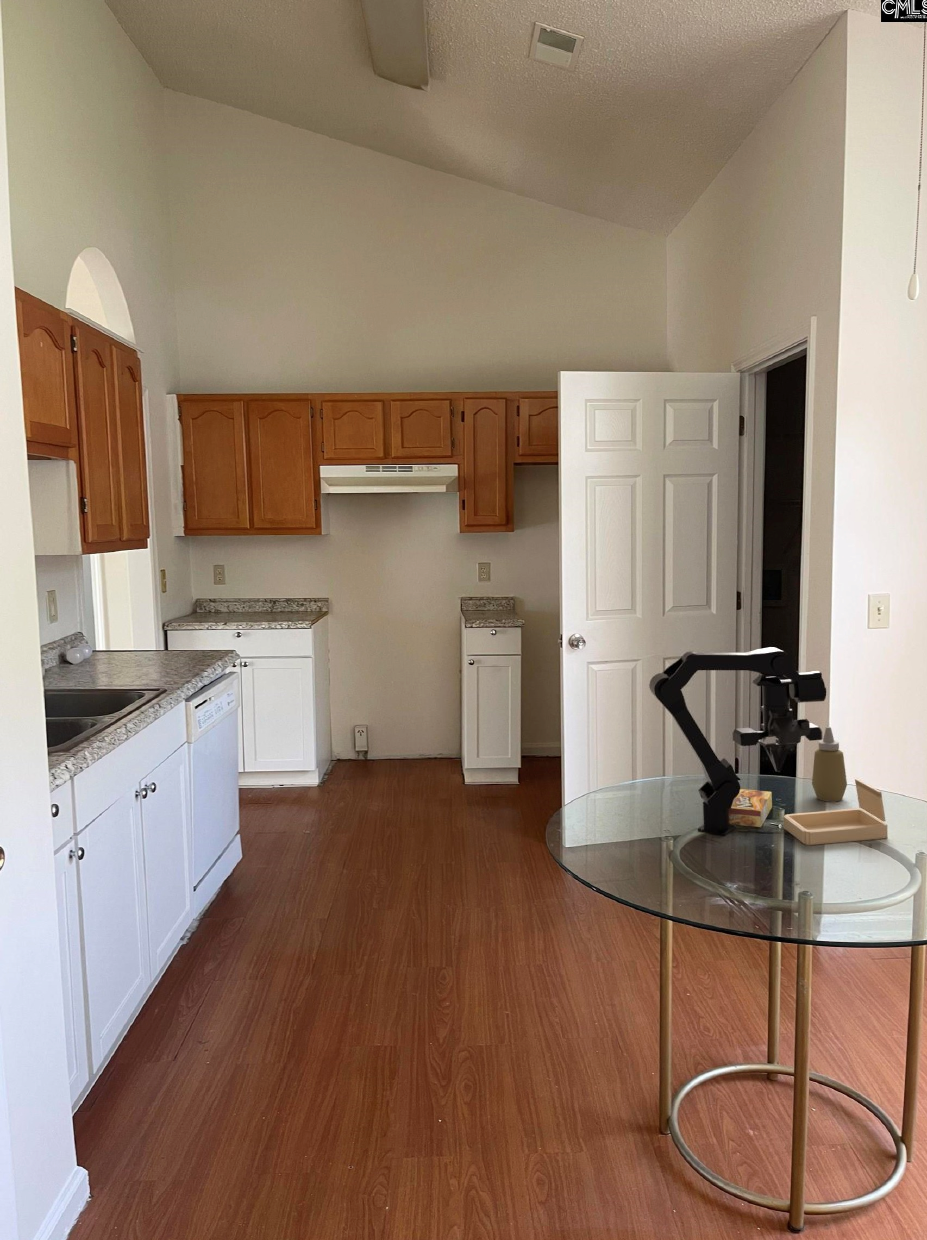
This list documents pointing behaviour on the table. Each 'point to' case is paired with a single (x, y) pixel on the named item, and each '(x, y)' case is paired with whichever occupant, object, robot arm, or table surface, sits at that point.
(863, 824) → the carton
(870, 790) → the flap
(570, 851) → the table surface
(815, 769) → the squeeze bottle
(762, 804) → the candy box
